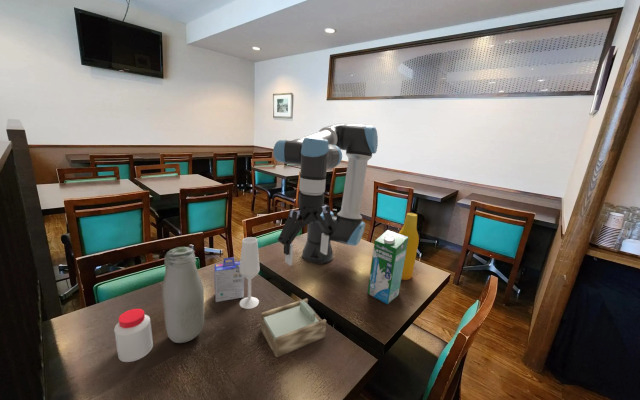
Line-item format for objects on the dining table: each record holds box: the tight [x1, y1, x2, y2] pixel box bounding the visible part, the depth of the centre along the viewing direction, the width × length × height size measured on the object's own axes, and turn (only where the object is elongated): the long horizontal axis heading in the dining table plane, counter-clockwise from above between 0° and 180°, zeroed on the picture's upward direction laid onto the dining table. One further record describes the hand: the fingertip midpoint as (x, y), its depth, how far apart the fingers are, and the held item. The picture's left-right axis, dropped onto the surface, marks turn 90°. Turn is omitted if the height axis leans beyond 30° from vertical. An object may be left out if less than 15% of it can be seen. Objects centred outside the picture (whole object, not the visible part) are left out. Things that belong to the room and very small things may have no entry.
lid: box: [264, 299, 318, 341], centre depth 80 cm, size 14×9×4 cm
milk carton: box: [367, 229, 409, 305], centre depth 102 cm, size 9×9×25 cm
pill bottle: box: [113, 308, 154, 363], centre depth 70 cm, size 8×8×11 cm
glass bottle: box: [161, 246, 205, 344], centre depth 73 cm, size 10×10×28 cm
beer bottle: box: [398, 212, 420, 281], centre depth 117 cm, size 9×9×29 cm
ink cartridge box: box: [214, 256, 245, 303], centre depth 95 cm, size 10×6×14 cm, turn 113°
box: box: [260, 297, 327, 358], centre depth 81 cm, size 16×12×6 cm
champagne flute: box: [239, 236, 261, 310], centre depth 91 cm, size 7×7×24 cm
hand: (306, 258), depth 83 cm, fingers open, 13 cm apart
